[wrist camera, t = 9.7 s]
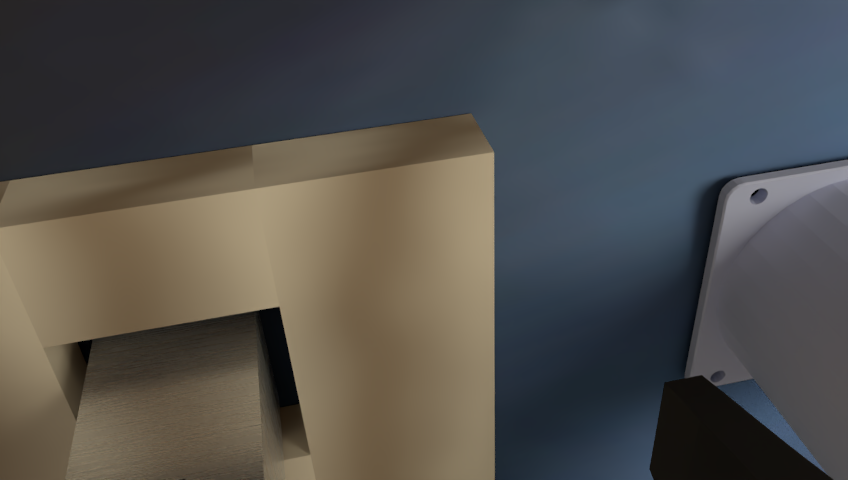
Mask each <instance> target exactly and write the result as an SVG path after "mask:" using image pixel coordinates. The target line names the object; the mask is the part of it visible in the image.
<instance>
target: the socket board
mask: <svg viewBox="0 0 848 480" xmlns="http://www.w3.org/2000/svg"><path fill="white" fill-rule="evenodd" d="M274 307H280V311H281V316H282V321H283V326H284V331H285V335H286V340H287V345H288V350H289V354H290V359H291V364H292V369H293V374H294V378H295V383H296V388H297V393H298V397H299V402H300V404H296V405H290V406H285V407H280V418H281V430H282V443H283V455H284V467H285V480H495V362H494V151H493V150H492V148H491V146H490V145H489V143H488V141H487V140H486V138H485V136H484V134H483V133H482V131H481V129H480V128H479V126H478V124H477V123H476V121H475V119H474V117H473V116H472V114H464V115H457V116H450V117H443V118H437V119H430V120H423V121H416V122H409V123H402V124H395V125H388V126H382V127H375V128H368V129H361V130H354V131H347V132H340V133H333V134H327V135H320V136H313V137H306V138H299V139H292V140H285V141H279V142H272V143H265V144H258V145H251V146H244V147H237V148H230V149H224V150H217V151H210V152H203V153H196V154H189V155H182V156H175V157H169V158H162V159H155V160H148V161H141V162H134V163H127V164H120V165H114V166H107V167H100V168H93V169H86V170H79V171H72V172H65V173H59V174H52V175H45V176H38V177H31V178H24V179H17V180H11V181H4V182H0V480H65V478H66V473H67V468H68V462H69V457H70V452H71V447H72V442H73V437H74V432H75V427H76V422H77V417H78V412H79V407H80V402H81V396H82V391H83V386H84V381H85V376H86V371H87V364H86V361H85V359H84V357H83V354H82V352H81V349H80V347H79V345H78V342H79V341H85V340H91V339H96V338H102V337H108V336H113V335H119V334H125V333H131V332H136V331H142V330H148V329H154V328H159V327H165V326H171V325H177V324H182V323H188V322H194V321H200V320H205V319H211V318H217V317H223V316H228V315H234V314H240V313H246V312H251V311H257V310H263V309H268V308H274Z"/></svg>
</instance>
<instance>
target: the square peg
mask: <svg viewBox="0 0 848 480" xmlns="http://www.w3.org/2000/svg"><path fill="white" fill-rule="evenodd" d="M181 479H185V480H285V467H284V455H283V443H282V430H281V418H280V406H279V394H278V390H277V386H276V381H275V377H274V373H273V369H272V364H271V360H270V356H269V352H268V347H267V343H266V339H265V335H264V330H263V326H262V322H261V318H260V313H259V310H257V311H251V312H246V313H240V314H234V315H228V316H223V317H217V318H211V319H205V320H200V321H194V322H188V323H182V324H177V325H171V326H165V327H159V328H154V329H148V330H142V331H136V332H131V333H125V334H119V335H113V336H108V337H102V338H96V339H93V341H92V346H91V351H90V356H89V361H88V366H87V371H86V376H85V381H84V386H83V391H82V396H81V402H80V407H79V412H78V417H77V422H76V427H75V432H74V437H73V442H72V447H71V452H70V457H69V462H68V468H67V473H66V478H65V480H181Z"/></svg>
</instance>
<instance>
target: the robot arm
mask: <svg viewBox="0 0 848 480" xmlns="http://www.w3.org/2000/svg"><path fill="white" fill-rule="evenodd" d="M758 189H759V191H758V192H757V193H756V194H755V195H754V196H751V195H752V193H753V192H754V191H756V190H758ZM749 379H754V380H755V381H756V383H757V384H758V385H759V386H760V388H761V389H762V390H763V392H764V393H765V394H766V396H767V397H768V398H769V399H770V401H771V402H772V403H773V405H774V406H775V407H776V408H777V410H778V411H779V412H780V414H781V415H782V416H783V418H784V419H785V420H786V421H787V423H788V424H789V425H790V427H791V428H792V429H793V430H794V432H795V433H796V434H797V436H798V437H799V438H800V440H801V441H802V442H803V443H804V445H805V446H806V447H807V449H808V450H809V451H810V452H811V454H812V455H813V456H814V458H815V459H816V460H817V462H818V463H819V464H820V465H821V467H822V468H823V469H824V471H825V472H826V473H827V474H825V473H824V472H823V471H822V470H820V469H819V468H818V467H816V466H815V465H814V464H812V463H811V462H810V461H808V460H807V459H806V458H804V457H803V456H802V455H801V454H799V453H798V452H797V451H795V450H794V449H793V448H792V447H790V446H789V445H788V444H787V443H785V442H784V441H783V440H782V439H780V438H779V437H778V436H777V435H775V434H774V433H773V432H772V431H770V430H769V429H768V428H767V427H765V426H764V425H763V424H762V423H760V422H759V421H758V420H757V419H756V418H754V417H753V416H752V415H751V414H749V413H748V412H747V411H746V410H744V409H743V408H742V407H741V406H740V405H738V404H737V403H736V402H735V401H733V400H732V399H731V398H730V397H729V396H727V395H726V394H725V393H724V392H722V391H721V390H720V389H719V388H717V387H716V386H719V385H724V384H729V383H734V382H739V381H744V380H749ZM650 471H651V474H652V476H653V479H654V480H848V160H842V161H836V162H830V163H824V164H818V165H812V166H805V167H799V168H793V169H787V170H781V171H775V172H769V173H763V174H757V175H751V176H745V177H739V178H736V179H733V180H731V181H730V182H728V183H727V184H726V185H725V186H724V187H723V188H722V190H721V192H720V195H719V199H718V204H717V209H716V214H715V219H714V225H713V230H712V235H711V240H710V245H709V251H708V256H707V261H706V266H705V271H704V277H703V282H702V287H701V292H700V297H699V302H698V308H697V313H696V318H695V323H694V328H693V334H692V339H691V344H690V349H689V354H688V359H687V365H686V370H685V378H684V379H679V380H674V381H669V382H665V383H664V389H663V395H662V401H661V406H660V412H659V418H658V424H657V429H656V435H655V441H654V447H653V452H652V458H651V464H650ZM181 480H185V479H181Z"/></svg>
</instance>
